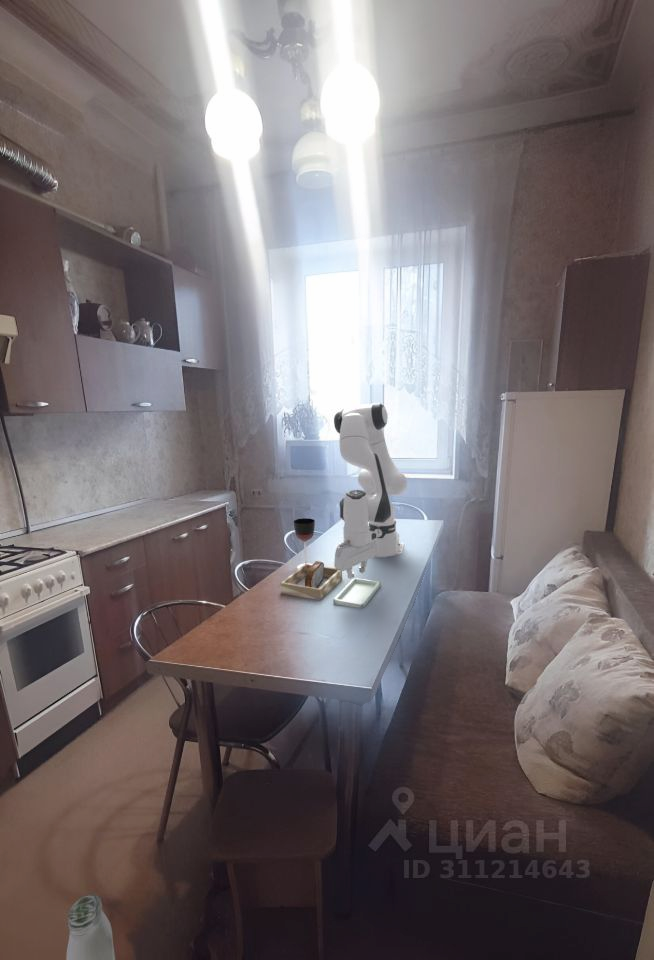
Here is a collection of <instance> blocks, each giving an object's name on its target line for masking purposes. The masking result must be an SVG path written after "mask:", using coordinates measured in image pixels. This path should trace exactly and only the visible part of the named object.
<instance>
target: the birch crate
mask: <svg viewBox="0 0 654 960" xmlns="http://www.w3.org/2000/svg"><path fill="white" fill-rule="evenodd" d="M304 564H305V563H304ZM311 564H312V563H307V564H305V565H303V566H302V567H301V568H299V569H298V568H297V570H296V571H294V572H293V573H292V574H290V575H289V576H287V578H285V579H284V580H282V581H281V582H280V584H279V585H280V594H281V595H282V594H283V595H288V596H293V597H299V598H305V599H313V600H319V601H321V600H322V599H324V597H325V596H326V595H328V594H329V593H330V592H331V590H333V589H334V588H335V587H336V586H337V585H338V584H339V583H340V582H341V580H342V579H343V571H340V570H337V569H336V568H335V567H331V566H324V575H323V578H328V579H327V580H326V581H325V582H324V583H323V584H321V585H320V586H319V587H316V588H314V587H308V586H305V585H301V584H297V583H299V582H300V581H301V580H302V579H303V578H305V577H306V573H307V571H308V569H309V568H310V567H311V566H312V565H311Z"/></svg>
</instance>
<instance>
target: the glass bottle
mask: <svg viewBox="0 0 654 960" xmlns="http://www.w3.org/2000/svg"><path fill="white" fill-rule="evenodd" d="M67 914H68V919H67V924H68V929H69V936H68V942H67V949H66V955H65V956H66V957H65V960H116V956H115V950H114V949H115V948H114V939H113V930H112V926H111V925H112V924H111V922H110V921H109V919H108V917H107V915H106V914H105V912H104V911H103V904H102V899H101V897H99V896H98V895H97V894H91V893H90V894H89V893H88V894H86V895H83V896H82V897H81V898H79V899H77V901H75V903H73V905H72V906H71V908H70V909H69V911H68V912H67Z"/></svg>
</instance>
